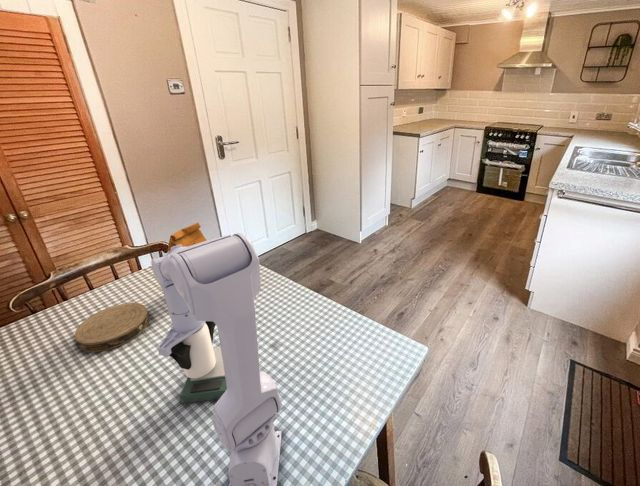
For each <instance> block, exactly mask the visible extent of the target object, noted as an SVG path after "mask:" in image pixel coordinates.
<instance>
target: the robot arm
mask: <svg viewBox="0 0 640 486" xmlns="http://www.w3.org/2000/svg"><path fill="white" fill-rule="evenodd" d="M150 264H151V271H152V273H153V276H154V279H155V281H156V282H157V284H158V285H159V286H160V288H161V289H162V293H163V296H164V299H165V303H166V306H167V309H168V313H169V317H170V326H171V327H170V329H169V330H168V333H167V334H166V335H165V337H164V339H163V340H162V342H161V343H160V344H159V345H158V346H157V347H156V349H157V352H158V354H159V355H158V356H163V357H170V358H171V359H172V360H174V361H175V362H176V363H177V365H178V366H179V367H180V369H182V370H183V369H188V370H189V369H190V368H191V360H190V348H191V345H185V344H184V342H183V343H182V340H184V339H185V338H187V337H189V336H190V335H192V334H193V333H195V332H196V331H198V330H199V329H201V328H202V327H203V325H204V324H205V323H206V324H207V326H208V329H209V333H210V337H211V341H212V344H213V341H214V333H215V328H216V327H217V335H218V341H219V347H221V353H222V360H223V366H224V372H225V379H226V385H227V390H226V391H225V392H224V394H223V395H222V396H221V398H218V399H217V402H215V404H214V405H213V412H212V415H213V416H212V419H211V422H212V425H213V429H214V431H215V433H216V435H217V438H218V440H219V442H220V443H221V445H222V446H223V448H224V449H225V450H226V451H230V462H229V466H228V471H227V476H228V481H229V483H228V486H278V477H279V467H280V466H279V465H280V456H281V446H282V445H281V443H282V434H283V433H282V431H281V430H275V426H274V422H275V421H276V420H277V414H279V412H281V410H282V402H283V401H282V398H281V395H280V392H279V389H278V385H277V383H276V382H275V380H274V379H273V378H272V377H271V376H270V374H268V373H267V372H266V371H263V370H262V371H260V358H259V357H260V356H259V355H260V354H259V342H258V332H257V330H258V329H257V316H256V306H255V299H256V298H257V296H258V294H259V293H260V291H261V290H262V289H261V288H262V287H261V268H260V267H261V265H260V258H259V255H258V253H257V251H256V249H255V247H254V245H253V243H252V241H251V240H250V238H249V237H247V236H246V235H244V234H243V233H241V232H236V233H233V234H228V235H222V236H219V237H215V238H211V239H207V241H204V242H201V243H198V244H195V245H191V246H188V247H182V245H181V244H180V245H177V246H173V247H171V251H168V250H167V252H166V255H164V256H161V257H160V256H159V257H157V258H152V259H151V262H150Z"/></svg>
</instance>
